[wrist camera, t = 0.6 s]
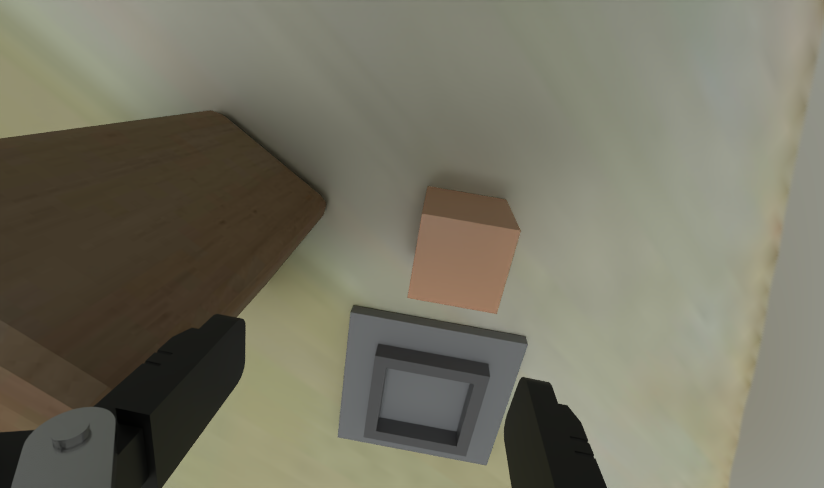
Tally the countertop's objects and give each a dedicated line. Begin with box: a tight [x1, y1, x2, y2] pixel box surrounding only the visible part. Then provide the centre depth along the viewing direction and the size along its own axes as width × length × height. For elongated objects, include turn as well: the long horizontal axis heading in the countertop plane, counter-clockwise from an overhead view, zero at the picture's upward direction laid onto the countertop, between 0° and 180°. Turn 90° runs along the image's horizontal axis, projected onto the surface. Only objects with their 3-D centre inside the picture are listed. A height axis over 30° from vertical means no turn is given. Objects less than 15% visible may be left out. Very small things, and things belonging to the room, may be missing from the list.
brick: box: [407, 186, 521, 314], centre depth 25 cm, size 6×6×6 cm
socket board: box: [338, 306, 528, 465], centre depth 33 cm, size 14×14×2 cm
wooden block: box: [0, 110, 326, 432], centre depth 19 cm, size 10×10×20 cm
